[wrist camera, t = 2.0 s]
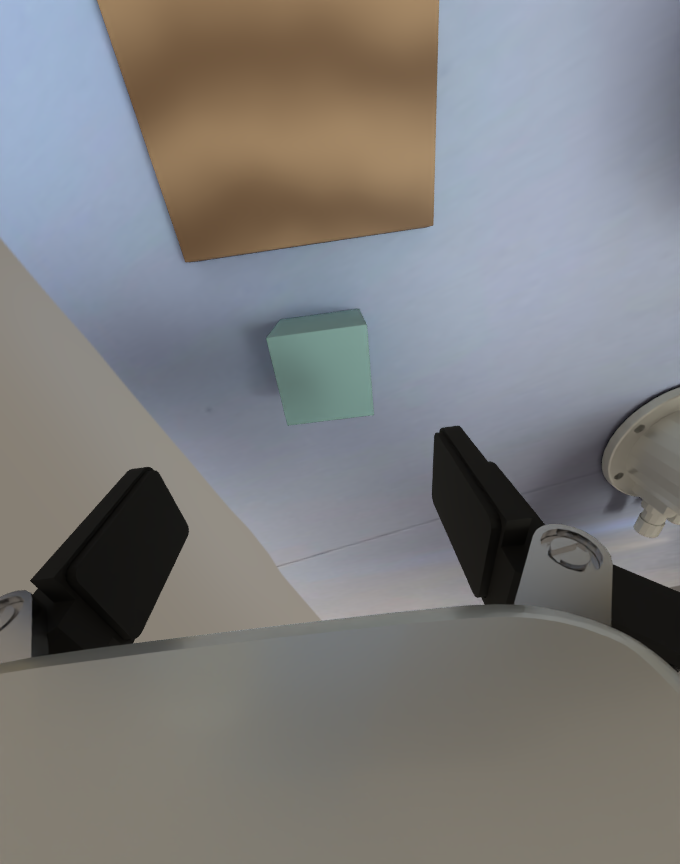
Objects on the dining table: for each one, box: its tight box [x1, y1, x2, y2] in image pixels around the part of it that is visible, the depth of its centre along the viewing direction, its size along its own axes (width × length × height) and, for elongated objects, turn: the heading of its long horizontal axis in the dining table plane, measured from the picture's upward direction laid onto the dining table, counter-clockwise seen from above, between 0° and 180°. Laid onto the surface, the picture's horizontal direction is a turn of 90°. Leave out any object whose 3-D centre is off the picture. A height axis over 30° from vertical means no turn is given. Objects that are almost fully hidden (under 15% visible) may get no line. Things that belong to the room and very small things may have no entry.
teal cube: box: [266, 309, 374, 426], centre depth 22 cm, size 6×6×6 cm
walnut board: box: [97, 0, 439, 262], centre depth 16 cm, size 15×16×2 cm
